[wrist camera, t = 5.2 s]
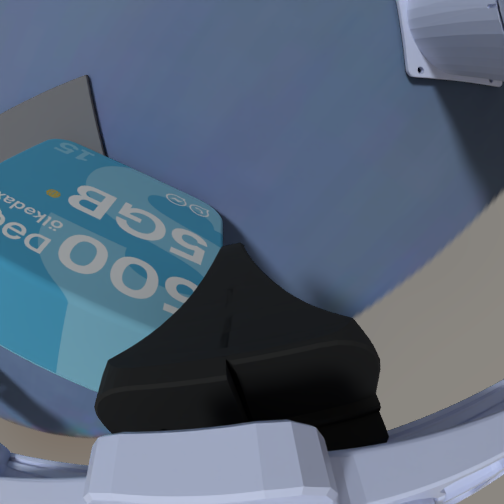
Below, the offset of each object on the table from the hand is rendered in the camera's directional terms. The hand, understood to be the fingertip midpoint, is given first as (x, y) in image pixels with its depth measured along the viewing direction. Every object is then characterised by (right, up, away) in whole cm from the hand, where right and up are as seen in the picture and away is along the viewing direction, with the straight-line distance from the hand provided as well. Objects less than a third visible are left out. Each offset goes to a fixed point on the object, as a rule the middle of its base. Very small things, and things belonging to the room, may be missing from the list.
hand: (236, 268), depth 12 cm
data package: (-7, +4, +8) cm, 12 cm away
